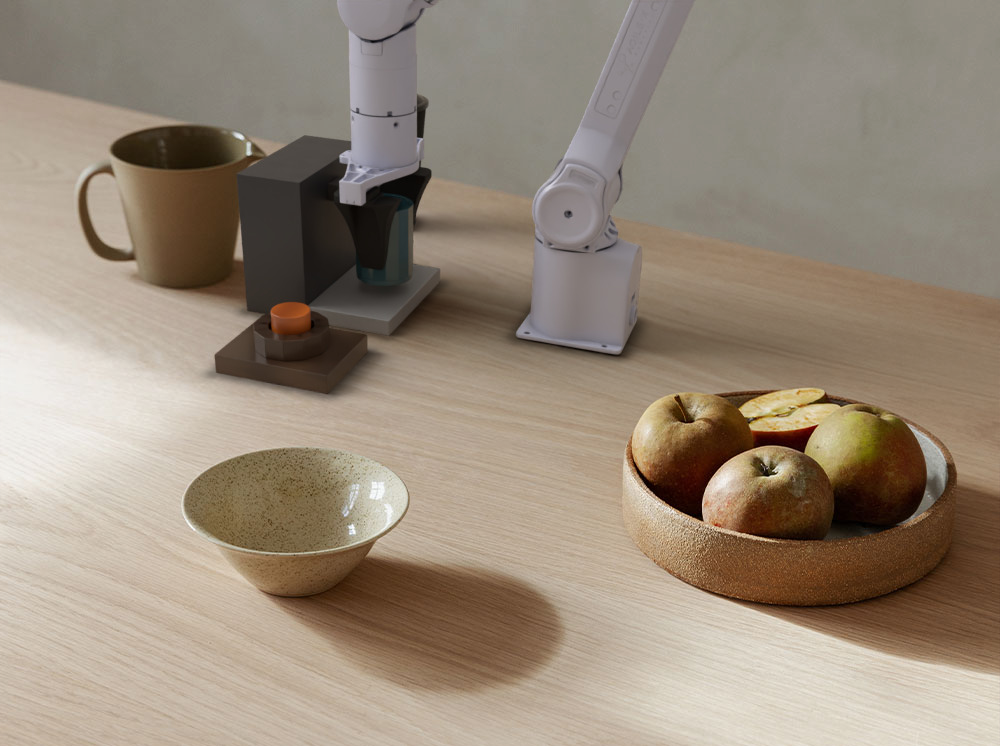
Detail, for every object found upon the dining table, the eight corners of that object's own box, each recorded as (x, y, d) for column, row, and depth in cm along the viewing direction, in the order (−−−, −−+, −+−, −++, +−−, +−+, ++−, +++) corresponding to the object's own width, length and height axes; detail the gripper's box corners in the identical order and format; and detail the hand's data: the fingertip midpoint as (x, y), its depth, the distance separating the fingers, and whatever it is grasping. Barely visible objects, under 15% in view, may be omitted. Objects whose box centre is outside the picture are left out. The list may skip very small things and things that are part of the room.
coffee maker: (440, 282, 108) (441, 152, 102) (389, 336, 97) (387, 195, 91) (310, 261, 112) (304, 134, 106) (246, 311, 101) (236, 173, 95)
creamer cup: (421, 268, 104) (421, 197, 101) (399, 290, 99) (399, 216, 96) (370, 260, 105) (368, 190, 102) (346, 281, 101) (344, 208, 97)
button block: (368, 352, 94) (367, 314, 93) (327, 394, 88) (325, 355, 86) (262, 333, 97) (260, 296, 95) (215, 372, 90) (212, 334, 89)
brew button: (317, 324, 92) (317, 305, 91) (300, 340, 89) (299, 320, 88) (283, 318, 93) (282, 299, 92) (264, 333, 90) (263, 314, 89)
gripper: (374, 85, 102) (376, 224, 108) (303, 124, 90) (310, 278, 96) (445, 93, 100) (443, 234, 107) (383, 134, 88) (385, 290, 94)
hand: (385, 255), depth 101 cm, fingers closed on creamer cup, 5 cm apart
